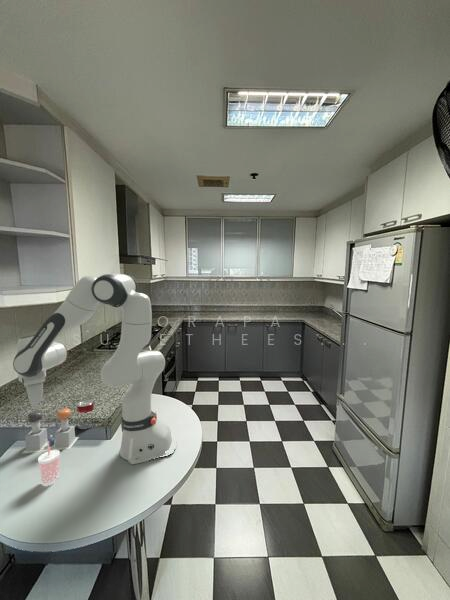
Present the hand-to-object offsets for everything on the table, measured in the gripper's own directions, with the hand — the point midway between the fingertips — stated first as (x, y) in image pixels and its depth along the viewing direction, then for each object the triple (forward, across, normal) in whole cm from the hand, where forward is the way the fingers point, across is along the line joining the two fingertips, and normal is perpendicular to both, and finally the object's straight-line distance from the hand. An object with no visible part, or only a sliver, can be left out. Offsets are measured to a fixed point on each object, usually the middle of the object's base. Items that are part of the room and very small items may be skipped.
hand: (34, 407), depth 101 cm
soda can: (+18, -2, +19) cm, 26 cm away
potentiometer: (+16, +4, +5) cm, 18 cm away
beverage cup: (+17, +26, +2) cm, 31 cm away
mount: (+18, +4, +5) cm, 18 cm away
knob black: (+12, 0, 0) cm, 12 cm away
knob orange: (+12, +7, +9) cm, 17 cm away
